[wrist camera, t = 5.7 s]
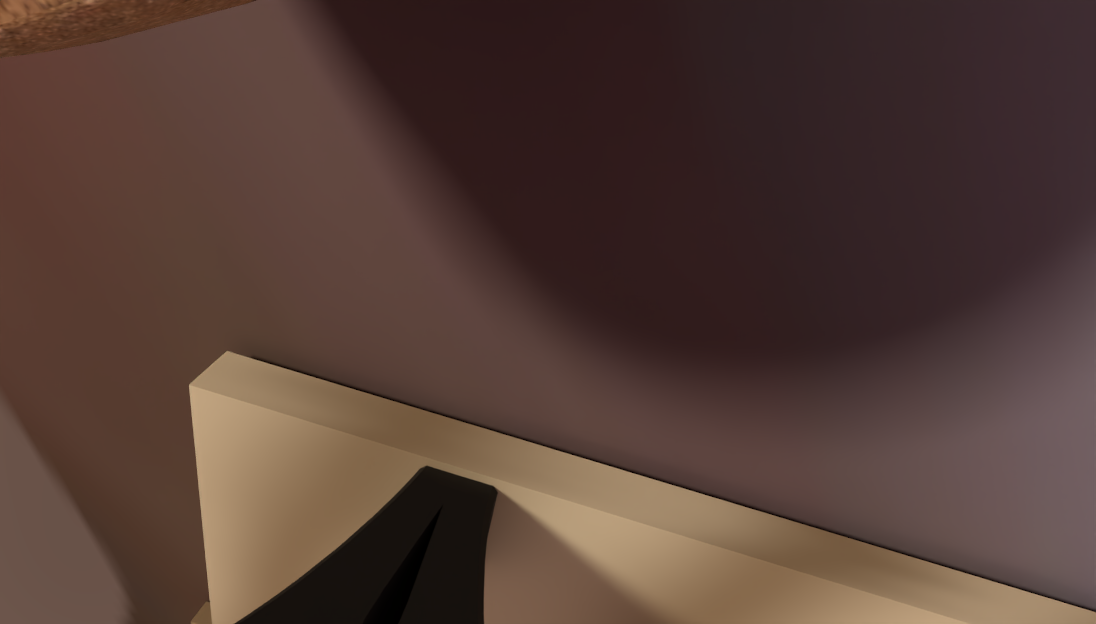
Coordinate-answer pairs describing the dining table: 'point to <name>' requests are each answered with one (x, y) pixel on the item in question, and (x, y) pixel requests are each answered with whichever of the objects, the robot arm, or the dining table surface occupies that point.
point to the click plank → (535, 522)
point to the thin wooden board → (203, 615)
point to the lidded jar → (89, 20)
